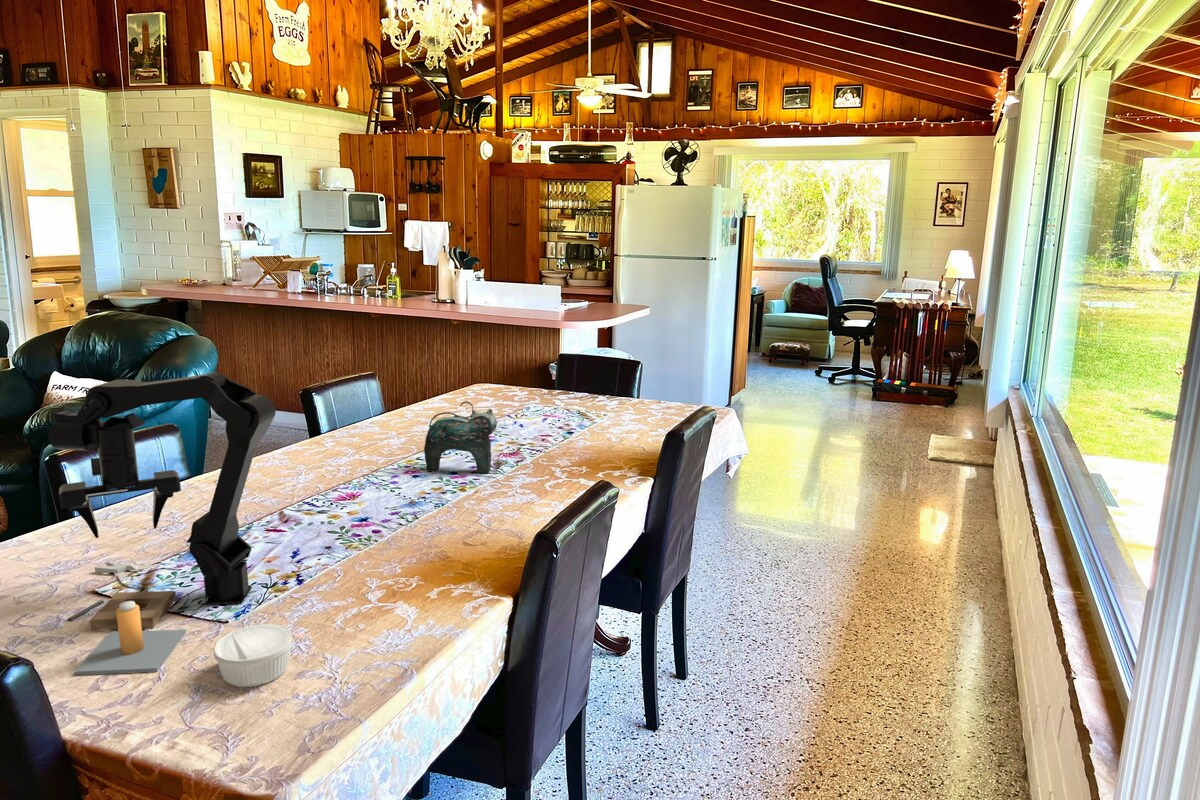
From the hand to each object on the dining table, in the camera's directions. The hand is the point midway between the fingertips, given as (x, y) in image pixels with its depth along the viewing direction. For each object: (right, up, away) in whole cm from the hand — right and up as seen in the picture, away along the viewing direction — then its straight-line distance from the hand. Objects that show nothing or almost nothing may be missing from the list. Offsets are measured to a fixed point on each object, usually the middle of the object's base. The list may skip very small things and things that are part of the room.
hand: (126, 532), depth 148 cm
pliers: (-5, -10, +10) cm, 15 cm away
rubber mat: (+11, -17, -17) cm, 27 cm away
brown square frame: (+5, -14, -5) cm, 15 cm away
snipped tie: (-4, -13, -5) cm, 15 cm away
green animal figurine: (+48, +4, +77) cm, 91 cm away
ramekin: (+33, -19, -22) cm, 43 cm away
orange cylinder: (+11, -16, -18) cm, 26 cm away
